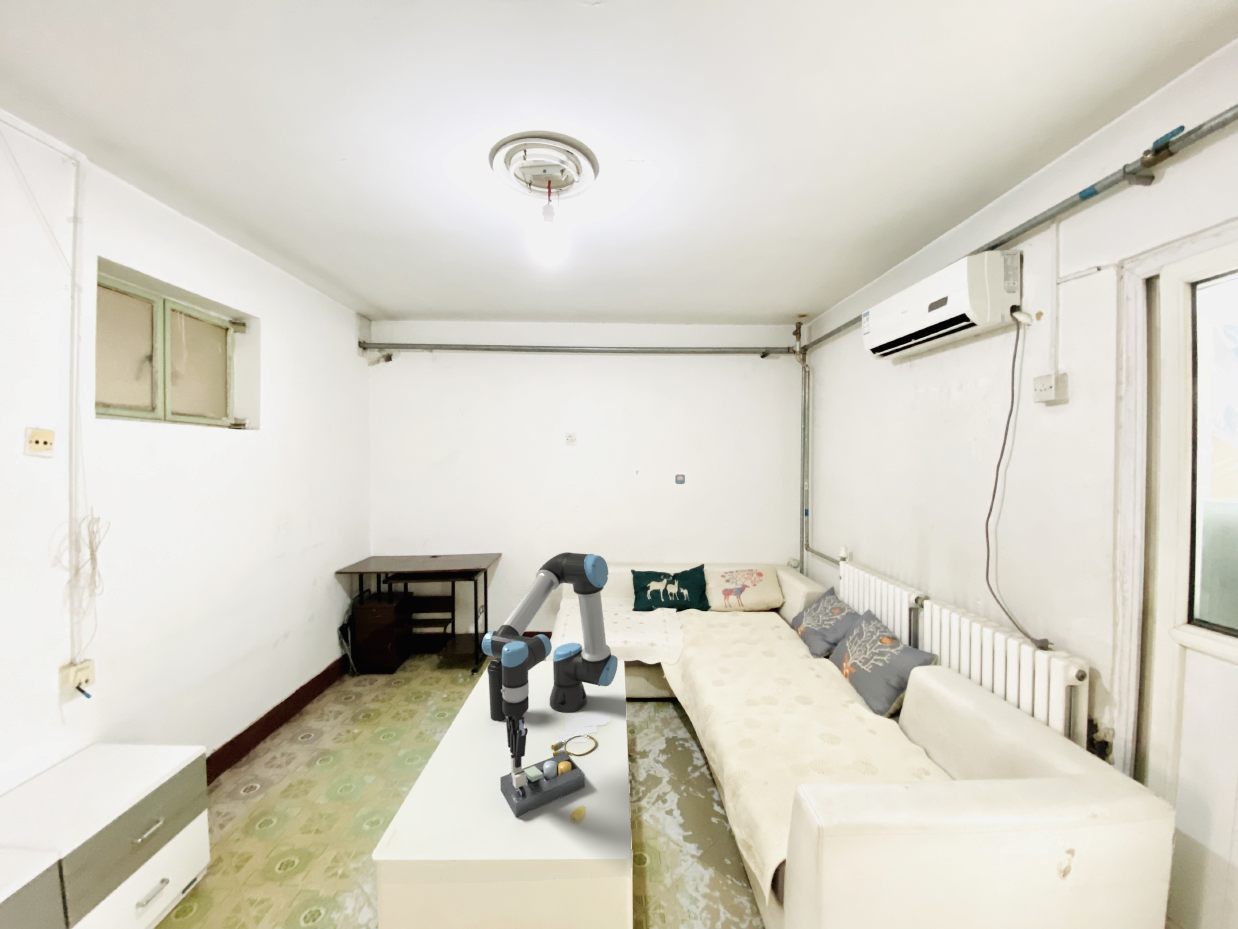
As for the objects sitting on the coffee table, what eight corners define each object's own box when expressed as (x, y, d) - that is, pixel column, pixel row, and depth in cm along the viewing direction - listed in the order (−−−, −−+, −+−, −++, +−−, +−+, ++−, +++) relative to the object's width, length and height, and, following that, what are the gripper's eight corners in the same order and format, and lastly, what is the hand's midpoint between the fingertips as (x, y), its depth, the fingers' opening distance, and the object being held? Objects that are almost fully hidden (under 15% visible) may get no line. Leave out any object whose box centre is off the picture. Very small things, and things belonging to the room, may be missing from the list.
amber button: (567, 772, 152) (567, 759, 152) (573, 779, 149) (573, 766, 149) (556, 777, 150) (556, 764, 150) (562, 784, 147) (561, 771, 146)
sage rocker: (534, 769, 147) (534, 765, 148) (543, 777, 142) (543, 773, 142) (523, 773, 145) (523, 770, 146) (532, 782, 140) (531, 778, 140)
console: (565, 764, 157) (565, 748, 157) (584, 787, 146) (584, 770, 146) (500, 790, 145) (500, 773, 145) (515, 817, 134) (515, 799, 134)
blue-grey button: (553, 772, 149) (553, 759, 149) (558, 779, 146) (558, 766, 146) (541, 777, 147) (541, 763, 147) (546, 784, 144) (546, 770, 144)
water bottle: (520, 711, 189) (519, 654, 189) (503, 725, 180) (502, 664, 179) (499, 706, 193) (498, 650, 193) (482, 718, 184) (481, 660, 184)
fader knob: (523, 779, 141) (523, 768, 141) (526, 784, 139) (526, 772, 139) (512, 783, 140) (512, 772, 140) (515, 788, 138) (515, 777, 137)
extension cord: (553, 738, 172) (553, 732, 172) (596, 736, 173) (596, 731, 172) (549, 760, 160) (549, 754, 160) (596, 758, 160) (596, 752, 160)
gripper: (496, 691, 144) (497, 768, 144) (510, 710, 133) (511, 793, 133) (519, 684, 148) (520, 759, 148) (535, 702, 137) (537, 783, 137)
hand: (516, 775), depth 141 cm, fingers closed
